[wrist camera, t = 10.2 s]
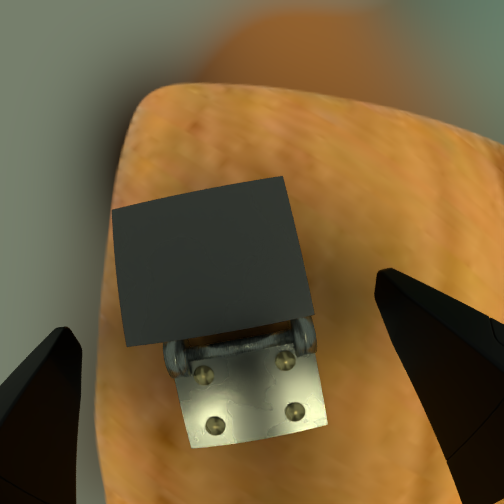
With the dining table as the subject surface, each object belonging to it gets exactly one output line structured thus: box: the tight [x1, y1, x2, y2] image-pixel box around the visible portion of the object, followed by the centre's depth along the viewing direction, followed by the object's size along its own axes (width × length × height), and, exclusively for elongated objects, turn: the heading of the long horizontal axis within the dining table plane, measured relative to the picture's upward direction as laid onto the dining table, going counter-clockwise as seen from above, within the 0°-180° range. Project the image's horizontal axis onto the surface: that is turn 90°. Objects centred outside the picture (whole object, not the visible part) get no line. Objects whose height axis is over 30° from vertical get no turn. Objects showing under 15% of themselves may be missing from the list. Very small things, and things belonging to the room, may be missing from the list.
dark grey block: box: [112, 176, 315, 347], centre depth 13 cm, size 4×4×11 cm
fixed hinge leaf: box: [163, 316, 328, 448], centre depth 16 cm, size 7×8×2 cm
